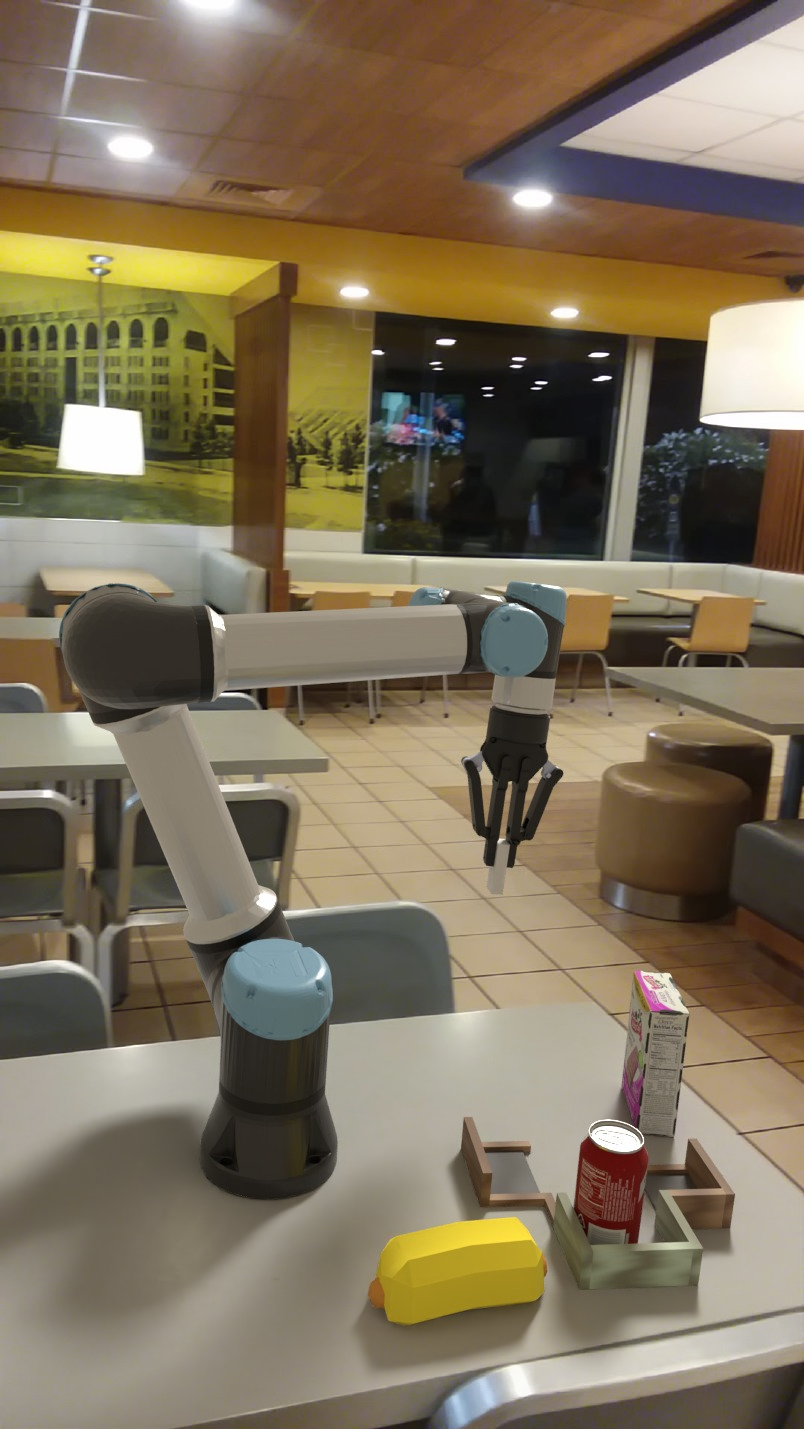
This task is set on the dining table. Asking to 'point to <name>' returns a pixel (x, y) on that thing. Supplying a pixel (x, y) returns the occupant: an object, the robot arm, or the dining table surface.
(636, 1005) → the candy bar box
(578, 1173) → the soda can
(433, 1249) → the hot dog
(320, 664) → the robot arm
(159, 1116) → the dining table surface
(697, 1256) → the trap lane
